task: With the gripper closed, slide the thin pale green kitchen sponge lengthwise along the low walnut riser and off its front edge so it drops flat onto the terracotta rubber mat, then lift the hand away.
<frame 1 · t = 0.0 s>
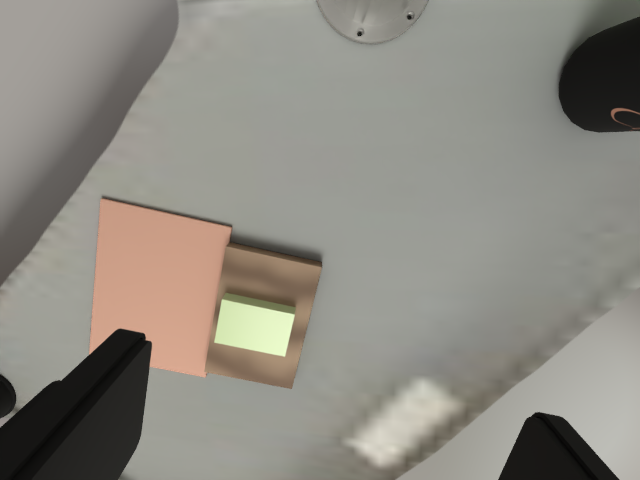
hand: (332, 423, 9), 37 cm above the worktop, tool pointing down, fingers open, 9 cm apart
mat: (158, 292, 47), on the worktop
riser: (262, 314, 48), on the worktop
coffee jar: (598, 84, 41), on the worktop
sponge: (255, 324, 45), point 3 cm above the worktop, touching riser
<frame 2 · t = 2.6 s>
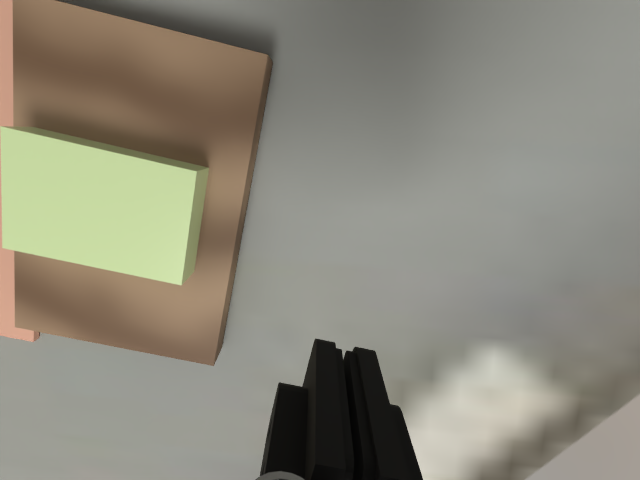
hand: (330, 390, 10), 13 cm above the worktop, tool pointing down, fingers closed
riser: (145, 199, 21), on the worktop
sponge: (108, 206, 19), point 3 cm above the worktop, touching riser
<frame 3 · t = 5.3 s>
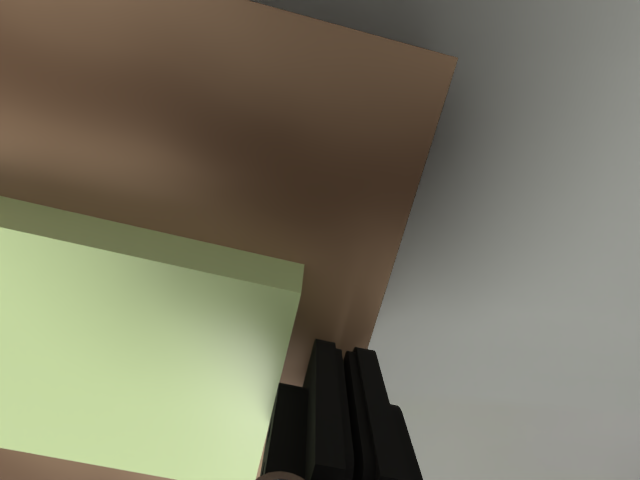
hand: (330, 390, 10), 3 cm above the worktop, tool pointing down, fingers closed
riser: (188, 301, 13), on the worktop
sponge: (114, 343, 10), point 3 cm above the worktop, touching gripper, riser
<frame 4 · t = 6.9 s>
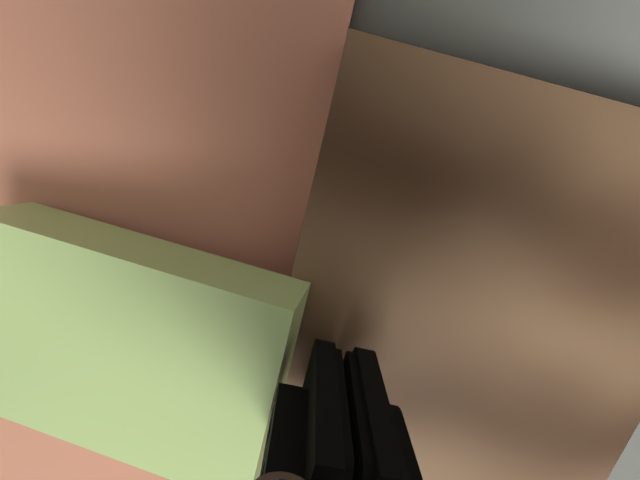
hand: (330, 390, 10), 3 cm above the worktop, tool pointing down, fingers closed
mat: (50, 271, 12), on the worktop
riser: (440, 354, 13), on the worktop
sponge: (133, 344, 10), point 2 cm above the worktop, tilted 10°, touching mat, riser
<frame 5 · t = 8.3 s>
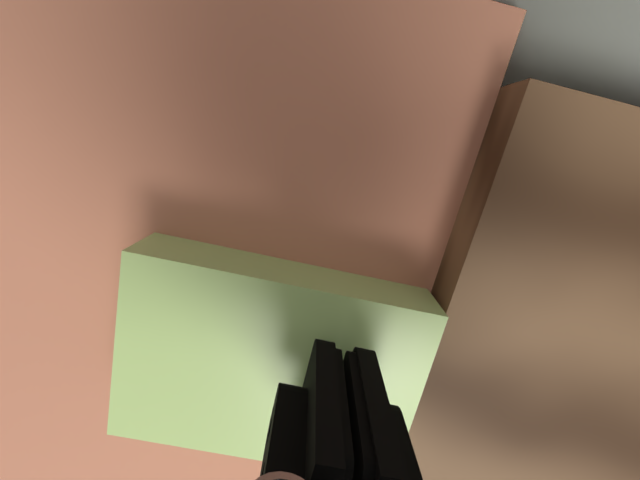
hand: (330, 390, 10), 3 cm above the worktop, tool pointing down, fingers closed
mat: (186, 302, 13), on the worktop
riser: (559, 380, 13), on the worktop
sponge: (273, 358, 11), point 1 cm above the worktop, touching mat
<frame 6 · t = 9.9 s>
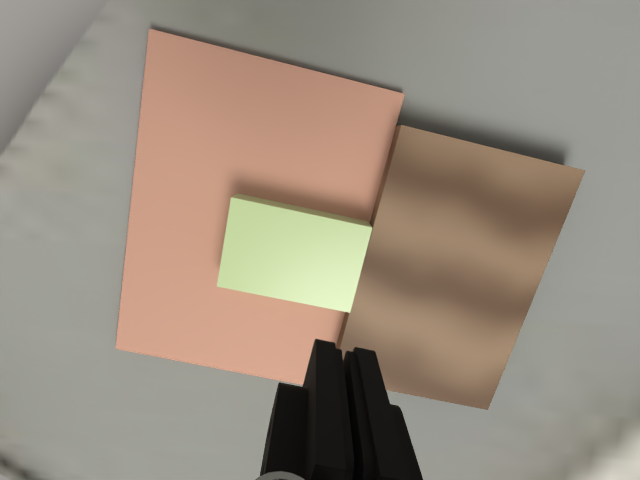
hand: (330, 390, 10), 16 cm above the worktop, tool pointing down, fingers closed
mat: (249, 230, 25), on the worktop
riser: (439, 272, 26), on the worktop
sponge: (294, 253, 24), point 1 cm above the worktop, touching mat
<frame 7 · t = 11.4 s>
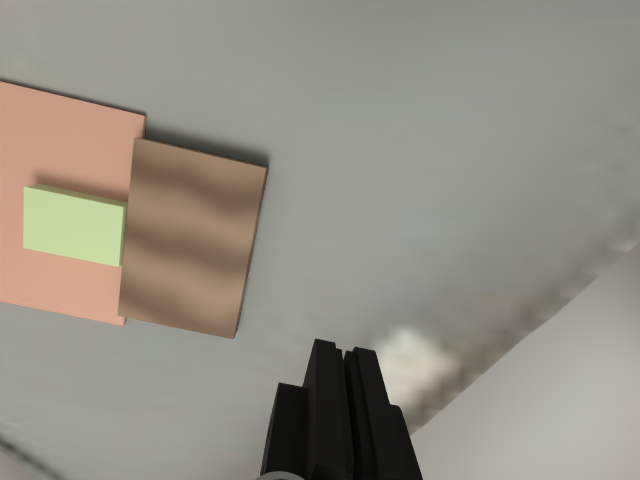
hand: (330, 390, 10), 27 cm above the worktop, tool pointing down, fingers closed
mat: (54, 210, 36), on the worktop
riser: (194, 240, 37), on the worktop
sponge: (79, 225, 35), point 1 cm above the worktop, touching mat
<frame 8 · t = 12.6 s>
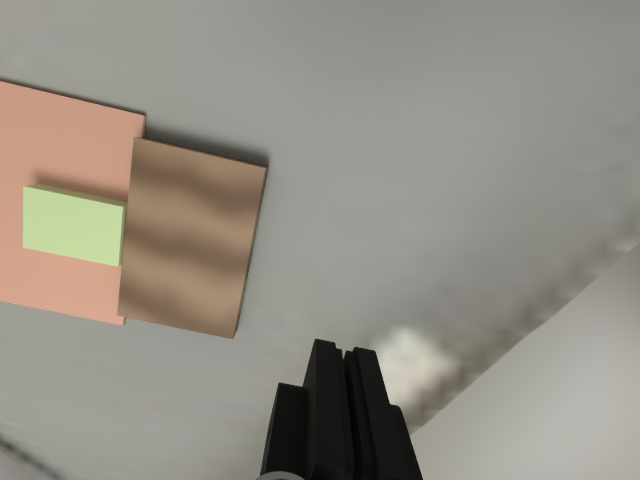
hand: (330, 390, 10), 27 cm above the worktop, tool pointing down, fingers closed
mat: (54, 209, 36), on the worktop
riser: (194, 240, 37), on the worktop
sponge: (79, 225, 35), point 1 cm above the worktop, touching mat
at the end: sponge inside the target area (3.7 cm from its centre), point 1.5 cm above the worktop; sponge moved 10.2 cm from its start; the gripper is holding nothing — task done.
